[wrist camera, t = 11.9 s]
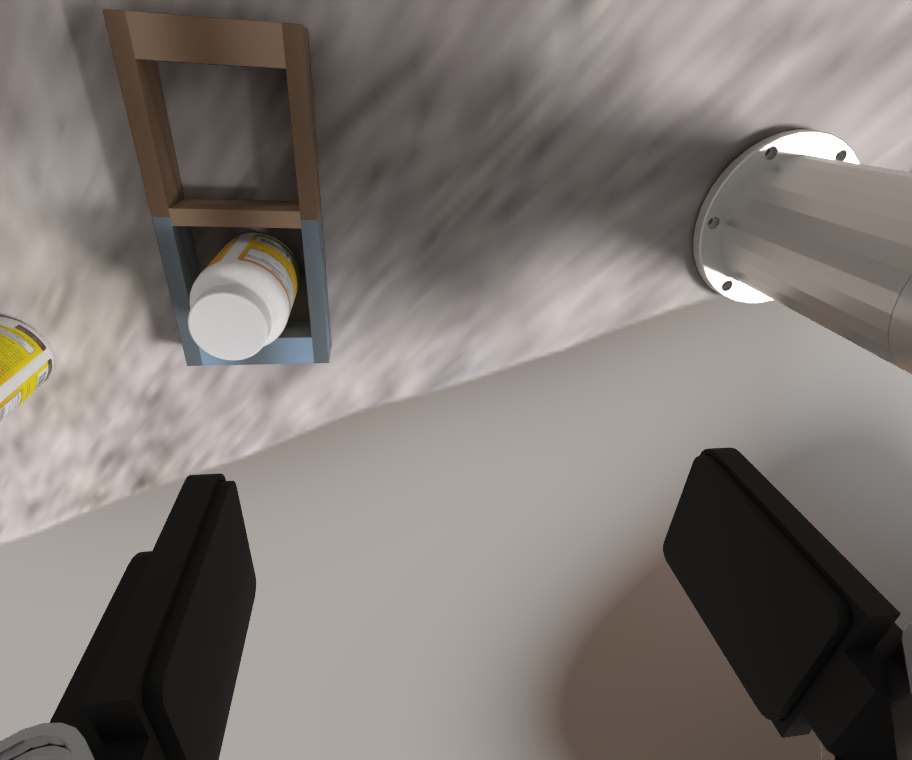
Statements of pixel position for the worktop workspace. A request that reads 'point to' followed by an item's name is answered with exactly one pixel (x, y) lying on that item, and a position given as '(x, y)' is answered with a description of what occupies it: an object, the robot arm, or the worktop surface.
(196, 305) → the supplement bottle
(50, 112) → the worktop surface
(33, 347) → the supplement bottle
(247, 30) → the slot rack
